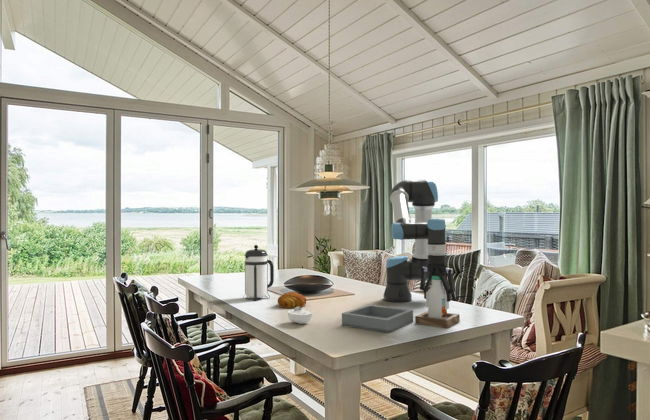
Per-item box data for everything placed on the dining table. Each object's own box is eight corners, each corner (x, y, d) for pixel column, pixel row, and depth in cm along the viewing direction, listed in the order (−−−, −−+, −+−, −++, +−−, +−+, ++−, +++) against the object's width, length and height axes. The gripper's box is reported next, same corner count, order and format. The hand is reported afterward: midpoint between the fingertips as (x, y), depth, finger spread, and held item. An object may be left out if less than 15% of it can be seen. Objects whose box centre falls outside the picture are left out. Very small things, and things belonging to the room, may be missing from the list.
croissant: (273, 312, 226) (272, 296, 225) (286, 302, 241) (284, 287, 240) (300, 313, 221) (298, 297, 221) (311, 302, 236) (310, 288, 235)
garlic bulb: (294, 327, 186) (294, 311, 186) (284, 321, 197) (284, 306, 197) (316, 324, 190) (316, 308, 190) (305, 319, 201) (305, 303, 201)
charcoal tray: (369, 315, 207) (369, 304, 207) (413, 321, 193) (412, 310, 193) (341, 325, 189) (341, 313, 189) (388, 333, 176) (388, 320, 176)
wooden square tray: (429, 317, 202) (428, 310, 202) (459, 321, 193) (459, 314, 193) (415, 323, 191) (415, 316, 191) (447, 328, 182) (447, 320, 182)
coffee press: (269, 301, 244) (269, 245, 244) (240, 301, 244) (240, 246, 244) (274, 295, 261) (273, 243, 261) (246, 295, 261) (246, 243, 262)
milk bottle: (436, 325, 187) (436, 277, 187) (424, 321, 194) (423, 275, 194) (450, 323, 190) (450, 275, 190) (438, 319, 197) (437, 273, 197)
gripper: (410, 254, 195) (411, 306, 195) (456, 256, 183) (457, 312, 183) (418, 252, 201) (419, 303, 201) (463, 254, 189) (464, 309, 189)
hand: (437, 307), depth 192 cm, fingers closed on milk bottle, 8 cm apart
